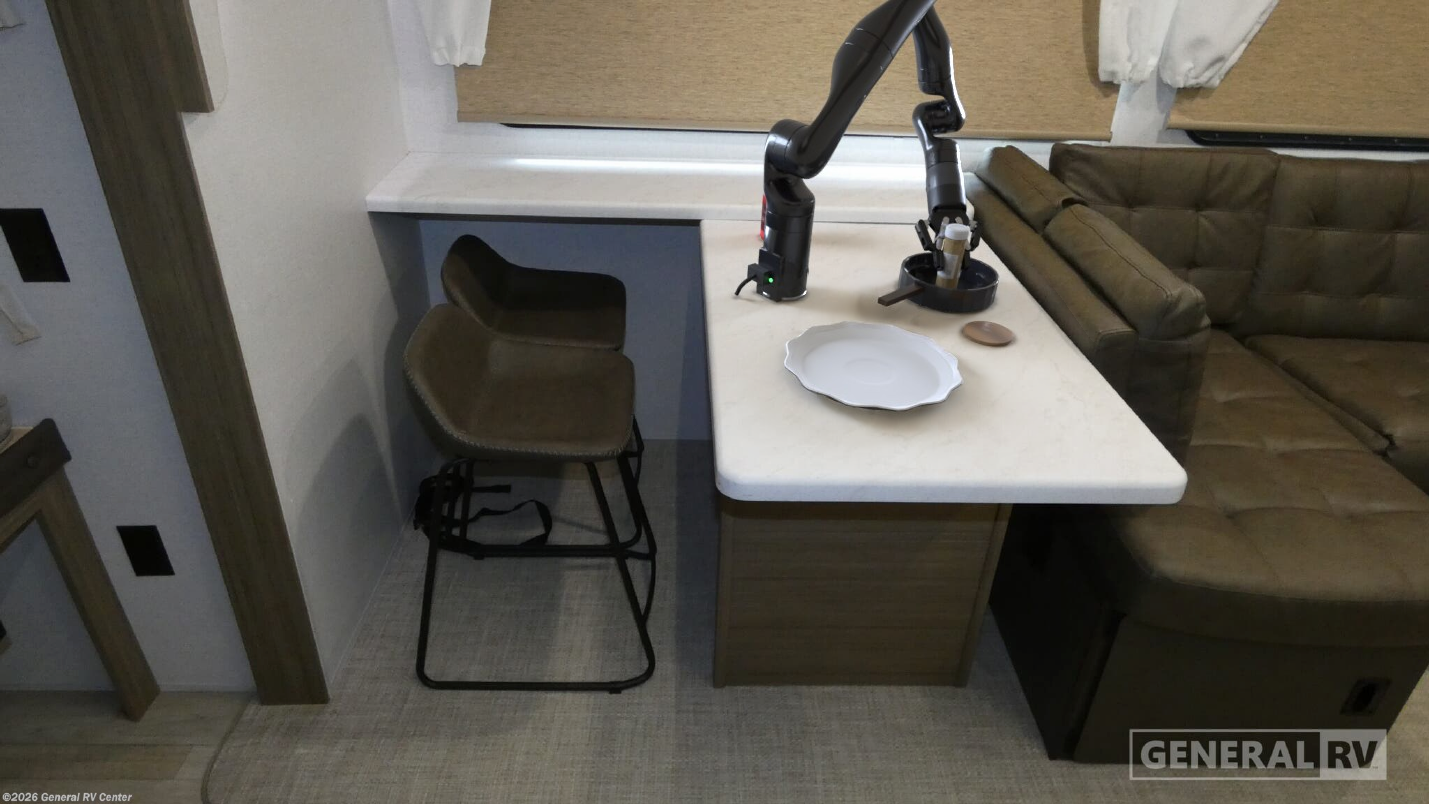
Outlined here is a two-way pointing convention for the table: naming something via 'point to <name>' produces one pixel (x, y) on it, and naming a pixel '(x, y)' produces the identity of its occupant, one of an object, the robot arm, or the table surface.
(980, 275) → the pan
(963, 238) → the sprinkles bottle
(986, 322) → the coaster
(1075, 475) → the table surface
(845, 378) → the plate
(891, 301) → the pan handle
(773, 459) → the table surface
